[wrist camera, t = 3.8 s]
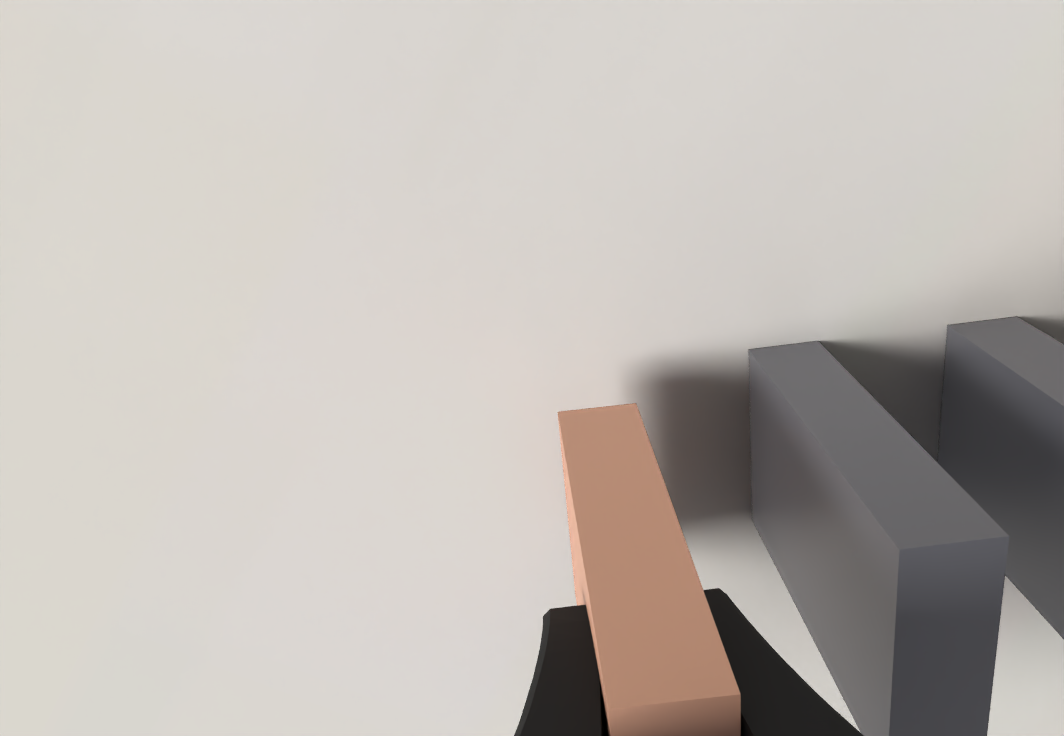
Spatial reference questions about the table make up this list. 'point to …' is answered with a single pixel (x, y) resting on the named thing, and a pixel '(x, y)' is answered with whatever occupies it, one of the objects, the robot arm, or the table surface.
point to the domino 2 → (874, 548)
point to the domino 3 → (1011, 445)
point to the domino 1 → (640, 585)
